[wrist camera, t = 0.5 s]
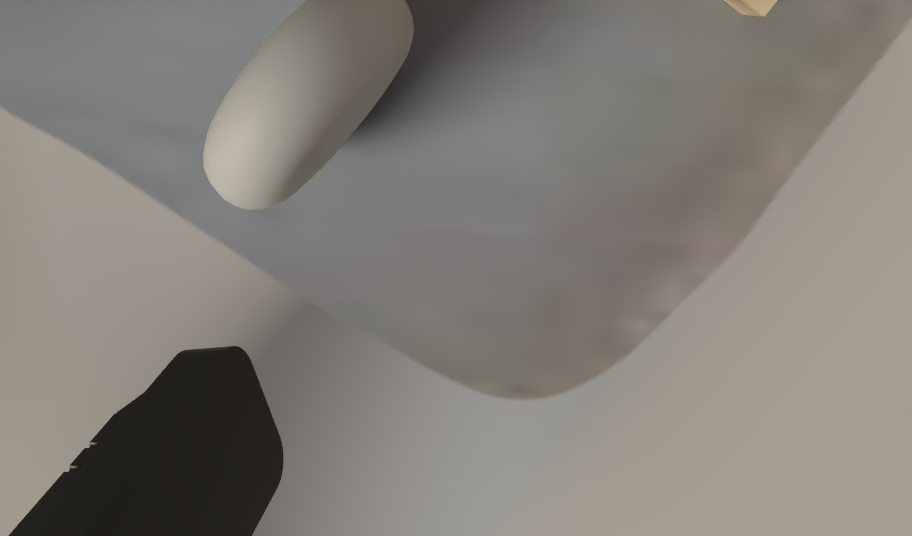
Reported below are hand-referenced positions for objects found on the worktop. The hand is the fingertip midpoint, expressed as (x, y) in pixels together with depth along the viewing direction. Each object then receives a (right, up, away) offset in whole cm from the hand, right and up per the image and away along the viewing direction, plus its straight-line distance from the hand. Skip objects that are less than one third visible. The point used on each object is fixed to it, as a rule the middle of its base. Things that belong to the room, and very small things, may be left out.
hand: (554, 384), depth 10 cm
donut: (-6, +9, +26) cm, 28 cm away
